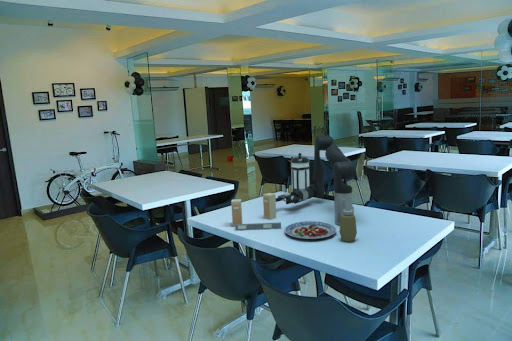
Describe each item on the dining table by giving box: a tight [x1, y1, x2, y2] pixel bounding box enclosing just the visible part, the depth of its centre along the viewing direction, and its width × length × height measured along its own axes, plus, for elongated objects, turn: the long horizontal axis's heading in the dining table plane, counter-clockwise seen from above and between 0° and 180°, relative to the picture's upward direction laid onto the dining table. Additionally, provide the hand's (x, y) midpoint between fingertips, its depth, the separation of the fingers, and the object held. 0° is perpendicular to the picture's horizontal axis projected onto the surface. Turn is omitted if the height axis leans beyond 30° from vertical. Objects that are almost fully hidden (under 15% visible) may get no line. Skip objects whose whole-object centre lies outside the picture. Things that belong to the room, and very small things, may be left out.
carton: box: [262, 192, 277, 221], centre depth 225 cm, size 5×5×14 cm
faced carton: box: [230, 198, 243, 228], centre depth 215 cm, size 5×5×14 cm
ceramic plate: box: [284, 220, 337, 240], centre depth 199 cm, size 26×26×3 cm
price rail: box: [234, 221, 282, 231], centre depth 208 cm, size 24×1×3 cm, turn 89°
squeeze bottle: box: [339, 203, 358, 243], centre depth 185 cm, size 8×8×18 cm
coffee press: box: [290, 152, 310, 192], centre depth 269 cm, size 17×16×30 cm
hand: (281, 201), depth 231 cm, fingers open, 8 cm apart
